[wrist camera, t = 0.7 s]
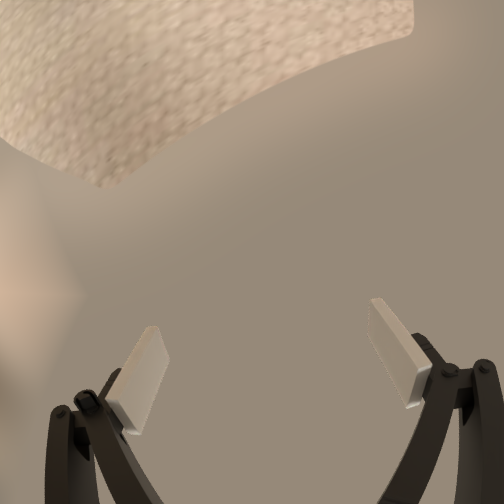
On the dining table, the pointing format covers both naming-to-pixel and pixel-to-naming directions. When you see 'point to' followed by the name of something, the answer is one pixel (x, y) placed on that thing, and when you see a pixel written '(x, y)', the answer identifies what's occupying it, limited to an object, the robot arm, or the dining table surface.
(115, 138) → the dining table surface
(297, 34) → the dining table surface
